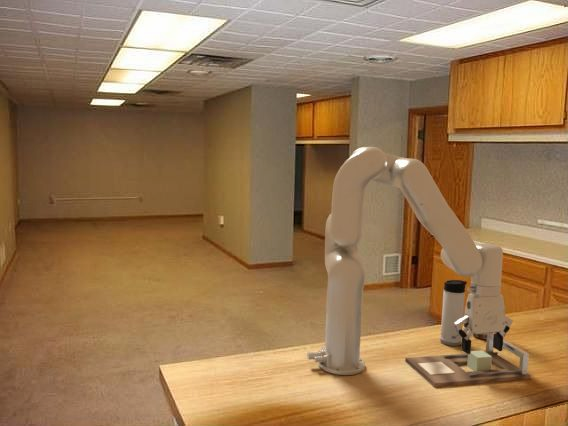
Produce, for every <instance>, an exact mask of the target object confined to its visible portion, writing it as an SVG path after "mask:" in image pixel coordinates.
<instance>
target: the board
mask: <svg viewBox="0 0 568 426" xmlns="http://www.w3.org/2000/svg"><path fill="white" fill-rule="evenodd" d="M485 352H486V351H485ZM498 352H499V351H498ZM498 352H497V351H496V352H495V351H493V352H491V353H487V352H486V353H487V354H489V355H490V356H492V364H491V365H494V366H496V367H497V369H496V368H495V369H491V370H483V371H473V370H472V371H471V370H470V371H466V370H464V369H463V368H462V367H460V366H462V365H464V366H465V365H466V366H467V361H468V354H467V353H455V354H443V355H429V356H428V355H427V356H415V357H412V356H411V357H405V360H404V361H405V363H407V364H408V365H409V366H410V368H412V369H413V370H414V371H416V373H418V374H419V375H420V376H421V377H422V378H423V379H425V380H426V381H427V383H429V384H430V385H432V387H433V388H440V387H452V386H462V385H475V384H485V383H489V384H490V383H499V382H510V381H511V382H512V381H522V380H531V378H532V376H531V374H529V373H528V372H527V374H523V375H522V374H520V373H519V366H518V365H517V366H516V365H515V364H513V363H511V361H509V360H507V359H505V358H504V357H502V356H501V355H499V353H498Z"/></svg>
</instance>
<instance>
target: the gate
mask: <svg viewBox="0 0 568 426" xmlns="http://www.w3.org/2000/svg"><path fill="white" fill-rule="evenodd" d="M493 338H494V333H487V339H486V343H485V344H486V346H485V352H487V353H491V352H494V349H495V348H494V347H493ZM502 348H504V349H506V350H507V351H508V352H510V353H513V354H514V355H515V356H518V357H519V366H518V368H519V373H520V374H522V375H523V374H527V373H528V368H529V358H530V357H529V355H530V353H529V352H527V351H526V350H524V349H522V348H520V347H518V346H517V345H514V344H513V343H511V342H510V341H508V340H506V339H504V338H503V346H502Z"/></svg>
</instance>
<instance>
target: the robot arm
mask: <svg viewBox="0 0 568 426" xmlns="http://www.w3.org/2000/svg"><path fill="white" fill-rule="evenodd" d="M372 181H373V182H376V183H379V184H383V185H387V186H390V187H391V186H392V187H395V188H397V189H398V188H399V190H400V191H401V193H402V195H403V196H404V198H405V199H406V201H407V203H408V204H409V206H410V208H411V209H412V211H413V213H414V215H415V217H416V218H417V220H418V221H419V223H420V224H421V225H422V226H423V228H425V230H426V231H428V232H429V233H430V234H431V235H432V236H433V237H434V238H435V239H436V241H437V242H438V243H439V244H440V246H441V247H442V248H441V251H440V259H441V261H442V263H443V264H444V266H446V267H447V268H449V269H450V270H452V271H453V272H455V273H456V274H457V275H459V276H461V277H464V278H465V277H466V278H467V277H468V278H470V277H471V278H470V286H467V287H466V290H467V292H470V293H468V294H467V298H466V302H465V305H464V312H463V318H461V319H459V320H458V321H456V322H455V323H454V326H455V328H456V331H457V332H458V334H459V335H460V336H461V337H462V339H461V351H463V353H464V354H470V353H471V351H472V340H471V337H472V336H473V333H475V334H484V333H494V338H493V347H494V349H495V350H497V351H498V352H502V351H503V347H502V346H503V339H504V338H505V337H506V335H507V333H508V332H509V330H510V329H511V328H510V327H511V326H512V325H513V322H514V321H513V319H512V318H510V317H507V316H506V305H505V301H504V299H505V298H504V295H502V294H501V288H502V277H503V276H502V273H503V259H504V257H503V256H504V250H503V247H501V246H500V245H498V244H493V243H478V244H476V243H475V241H474V240H473V238H472V237H471V235H470V233H469V232H468V230H467V229H466V227H465V226H464V224H462V222H461V221H460V220H459V218H458V217H457V215H456V213H455V212H454V211H453V210H452V209H451V207H450V206H449V204H448V202H447V200H446V199H445V198H444V196H443V194H442V193H441V191H440V189H439V187H438V185H437V184H436V182H435V179H434V178H433V177H432V175H431V173H430V171H429V170H428V168H427V167H426V165H425V164H424V162H422V161H421V160H419V159H416V158H409V157H408V158H406V157H401V156H398V155H394V154H390V153H388V152H383V150H382V149H380V148H379V147H375V146H362V147H359V148H357V149H356V150H354V151H353V152H352V154H351V155H350V156H349V158H347V159H346V160H345V161H344V163H343V164H342V165H341V166H340V168H339V169H338V171H337V172H336V175H335V177H334V180H333V186H332V197H331V198H332V199H331V212H330V214H329V215H328V217H327V219H326V221H325V228H324V229H325V235H324V265H325V269H326V272H327V290H326V301H325V302H326V306H325V310H326V311H325V315H326V316H325V334H324V335H325V338H324V346H321V349H320V350H318V351H316V352H314V351H310V352H309V351H308V352H307V353H306V357H307V360H308V361H309V360H314V362H315V363H318V367H319V368H320V369H322V370H323V372H327V373H329V374H333V375H337V376H352V375H357V374H359V373H362V372H363V371H364V370H365V367H366V362H365V360H364V359H362V358H361V357H360V353H361V352H360V351H361V332H362V331H361V329H362V311H363V295H364V286H365V282H366V271H365V266H364V263H363V262H362V259H361V258H360V257H359V243H360V242H361V241H362V239H363V237H364V233H365V224H364V223H365V221H364V219H365V199H366V198H365V197H366V192H367V189H368V187H369V185H370V183H371V182H372ZM462 325H463V326H464V328H463V326H462Z"/></svg>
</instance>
